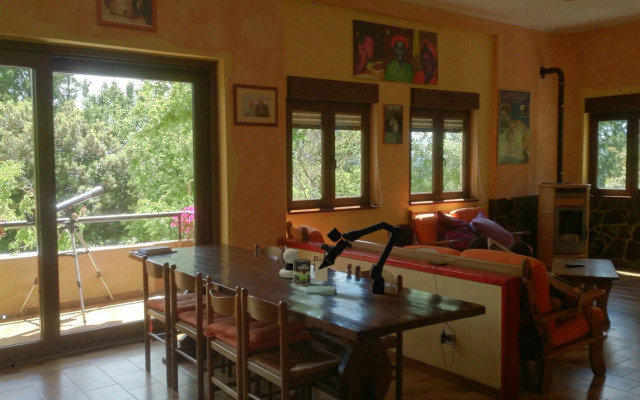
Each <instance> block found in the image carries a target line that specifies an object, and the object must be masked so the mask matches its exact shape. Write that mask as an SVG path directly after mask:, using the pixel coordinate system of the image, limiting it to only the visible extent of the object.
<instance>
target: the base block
mask: <svg viewBox="0 0 640 400" xmlns="http://www.w3.org/2000/svg"><path fill="white" fill-rule="evenodd" d="M316 294H322V295H323V296H324V295H325V296H335V286H334V285H333V286H328V285H326V286H325V285H321V286H320V285H307V291H306V295H316Z"/></svg>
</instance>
